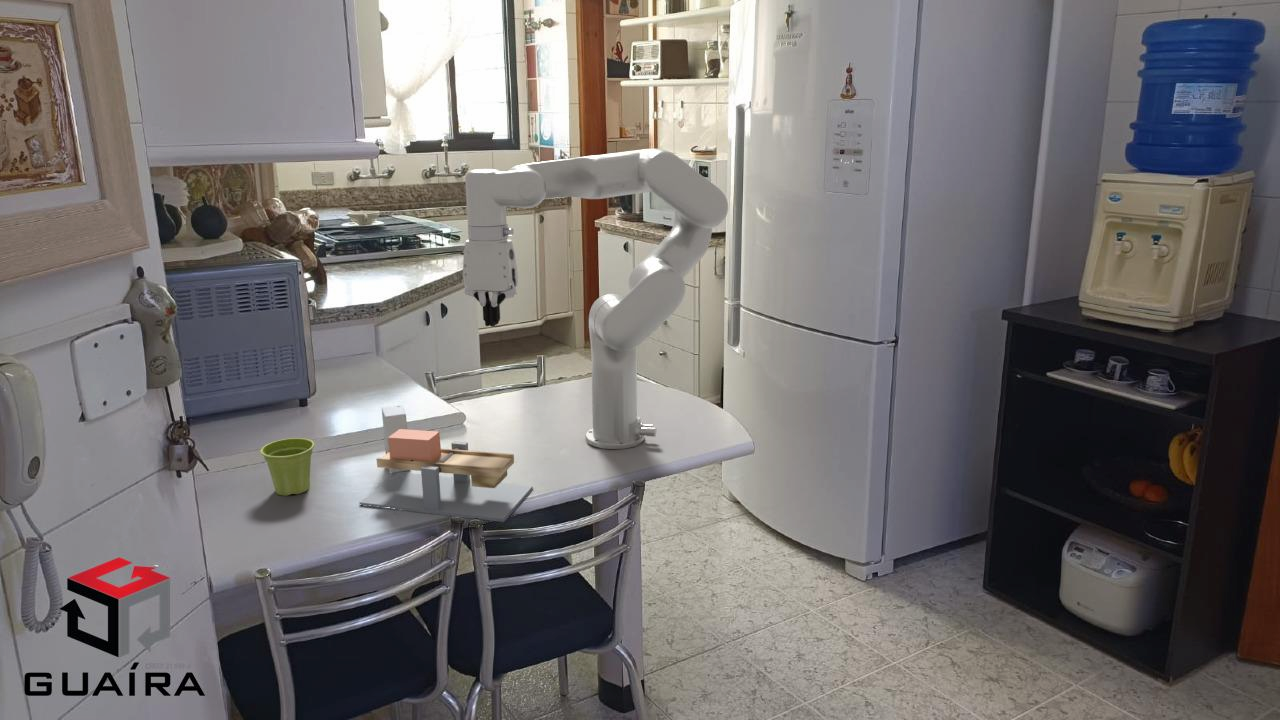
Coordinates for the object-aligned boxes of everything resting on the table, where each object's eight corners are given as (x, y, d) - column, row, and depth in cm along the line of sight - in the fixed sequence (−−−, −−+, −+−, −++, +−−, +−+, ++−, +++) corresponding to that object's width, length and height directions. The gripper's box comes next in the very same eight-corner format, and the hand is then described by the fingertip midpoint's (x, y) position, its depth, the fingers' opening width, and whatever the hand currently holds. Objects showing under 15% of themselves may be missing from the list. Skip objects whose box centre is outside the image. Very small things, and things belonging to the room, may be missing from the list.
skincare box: (385, 462, 190) (381, 406, 187) (407, 459, 192) (403, 404, 188) (389, 473, 185) (384, 416, 182) (411, 470, 186) (406, 413, 183)
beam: (518, 471, 175) (517, 450, 174) (496, 493, 165) (495, 471, 164) (401, 461, 181) (399, 441, 180) (373, 483, 171) (371, 461, 170)
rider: (441, 454, 174) (439, 431, 173) (430, 463, 170) (428, 440, 169) (401, 451, 176) (399, 429, 175) (390, 460, 172) (387, 437, 171)
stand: (532, 489, 178) (531, 447, 175) (503, 522, 164) (501, 477, 162) (398, 474, 184) (395, 434, 182) (359, 505, 171) (355, 462, 169)
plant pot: (292, 503, 172) (287, 459, 169) (254, 494, 176) (249, 451, 173) (329, 484, 180) (325, 442, 177) (292, 476, 184) (287, 435, 181)
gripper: (530, 232, 186) (533, 322, 191) (460, 229, 189) (465, 318, 194) (516, 237, 179) (520, 331, 184) (444, 235, 182) (449, 327, 187)
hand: (492, 324), depth 189 cm, fingers closed
